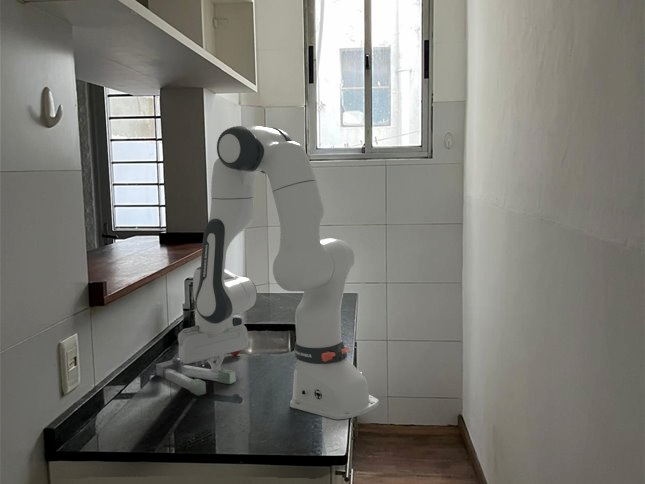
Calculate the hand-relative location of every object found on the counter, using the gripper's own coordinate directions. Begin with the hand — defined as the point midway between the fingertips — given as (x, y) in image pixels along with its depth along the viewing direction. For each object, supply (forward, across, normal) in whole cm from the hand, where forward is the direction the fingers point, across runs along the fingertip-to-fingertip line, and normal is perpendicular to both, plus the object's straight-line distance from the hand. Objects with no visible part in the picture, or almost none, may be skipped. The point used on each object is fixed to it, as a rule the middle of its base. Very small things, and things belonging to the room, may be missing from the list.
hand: (216, 371), depth 179 cm
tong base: (+2, -8, +3) cm, 8 cm away
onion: (+2, +14, +14) cm, 20 cm away
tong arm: (+1, -3, +2) cm, 4 cm away
